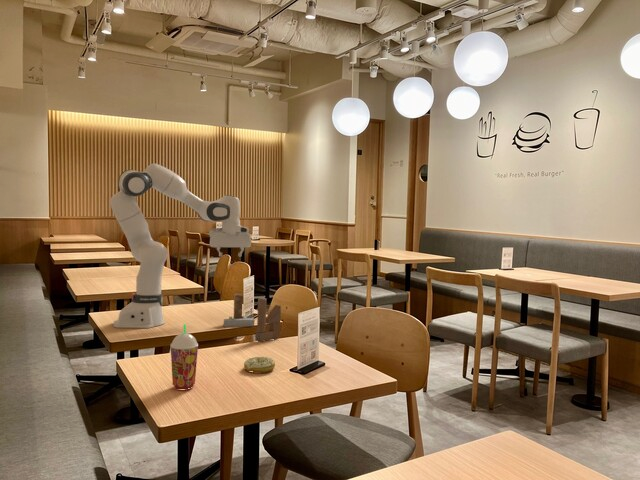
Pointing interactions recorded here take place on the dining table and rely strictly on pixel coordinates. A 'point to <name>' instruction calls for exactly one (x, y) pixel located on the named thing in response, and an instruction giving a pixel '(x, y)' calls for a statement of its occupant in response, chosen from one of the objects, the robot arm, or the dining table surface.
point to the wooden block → (267, 322)
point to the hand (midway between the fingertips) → (230, 256)
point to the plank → (238, 306)
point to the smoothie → (184, 360)
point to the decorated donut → (259, 364)
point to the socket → (238, 322)
